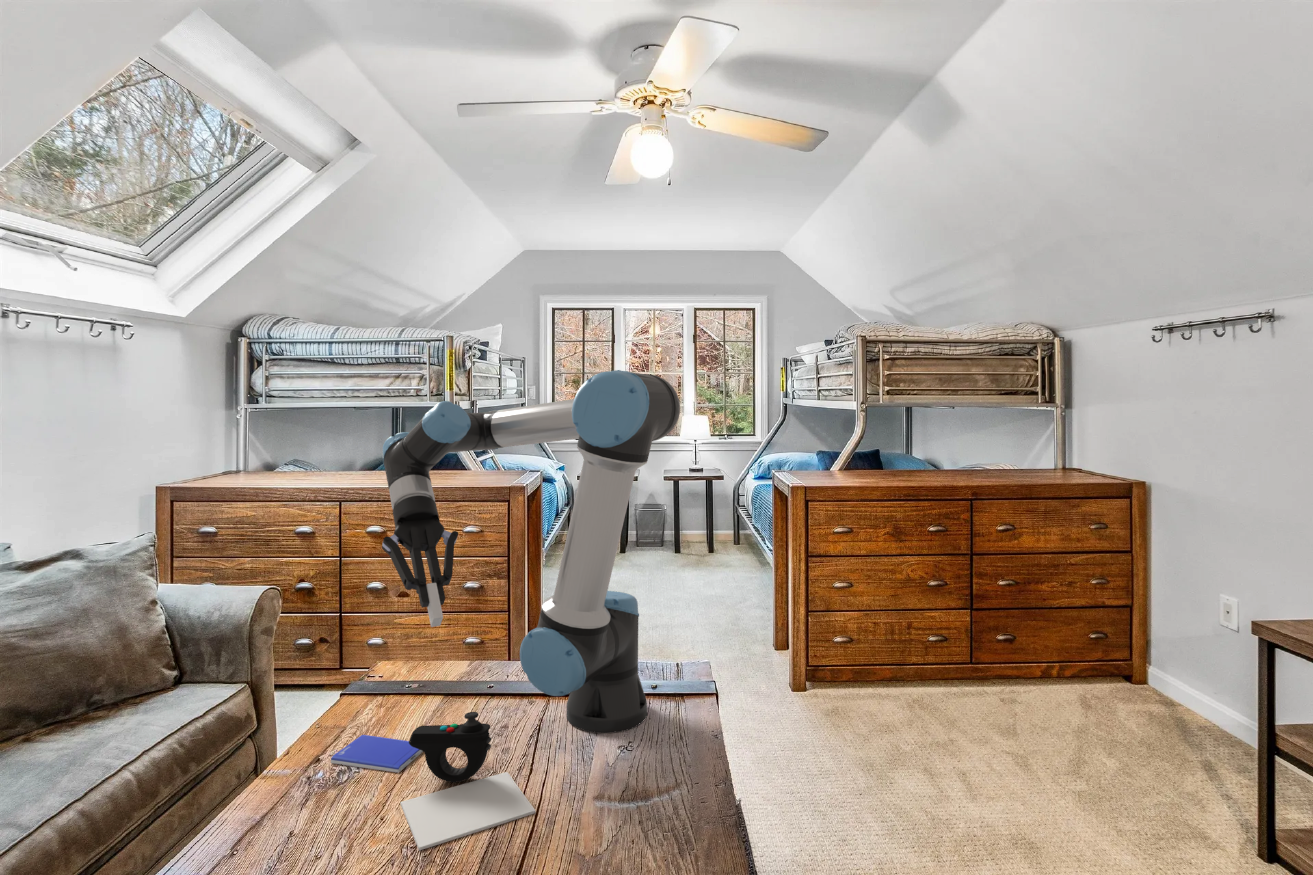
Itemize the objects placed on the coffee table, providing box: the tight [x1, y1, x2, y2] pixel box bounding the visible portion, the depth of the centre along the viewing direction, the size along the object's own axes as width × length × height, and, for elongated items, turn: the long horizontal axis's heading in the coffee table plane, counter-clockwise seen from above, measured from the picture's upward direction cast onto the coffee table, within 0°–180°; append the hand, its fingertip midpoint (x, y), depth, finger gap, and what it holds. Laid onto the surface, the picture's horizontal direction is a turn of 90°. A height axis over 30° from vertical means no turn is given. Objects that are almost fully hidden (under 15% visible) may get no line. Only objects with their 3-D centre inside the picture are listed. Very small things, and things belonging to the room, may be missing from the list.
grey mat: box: [399, 771, 536, 851], centre depth 98 cm, size 16×12×1 cm
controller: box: [408, 711, 492, 783], centre depth 105 cm, size 4×12×10 cm, turn 87°
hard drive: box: [330, 734, 424, 773], centre depth 113 cm, size 2×8×12 cm
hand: (437, 622), depth 110 cm, fingers closed
